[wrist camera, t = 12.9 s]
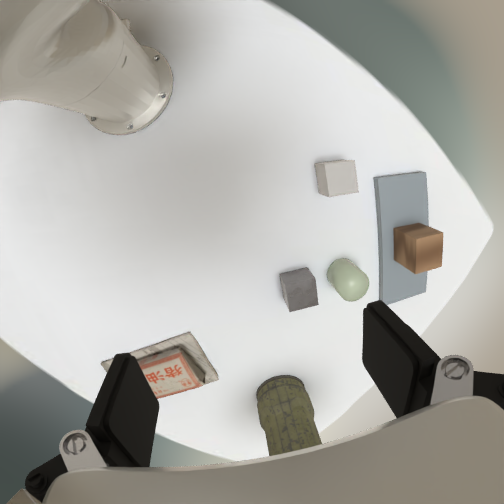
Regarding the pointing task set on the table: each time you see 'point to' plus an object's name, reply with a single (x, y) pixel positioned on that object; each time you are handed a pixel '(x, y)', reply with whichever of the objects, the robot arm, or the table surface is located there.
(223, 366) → the table surface
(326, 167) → the grey plastic cube
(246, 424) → the table surface
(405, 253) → the walnut block
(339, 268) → the sage plastic cylinder
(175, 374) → the packaged product
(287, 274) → the dark metal block
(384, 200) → the slate board
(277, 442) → the thermos
